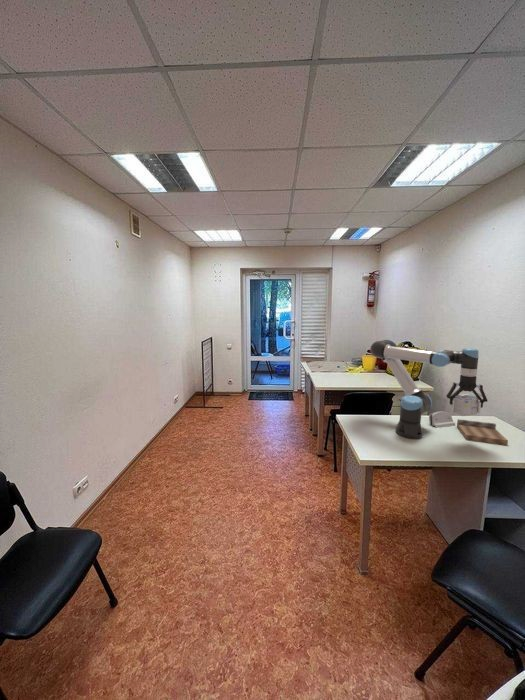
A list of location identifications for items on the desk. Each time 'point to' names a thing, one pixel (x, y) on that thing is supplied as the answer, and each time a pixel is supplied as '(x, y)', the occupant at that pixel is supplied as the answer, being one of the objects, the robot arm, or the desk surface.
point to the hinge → (441, 419)
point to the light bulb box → (465, 405)
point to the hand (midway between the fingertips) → (465, 411)
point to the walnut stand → (480, 432)
